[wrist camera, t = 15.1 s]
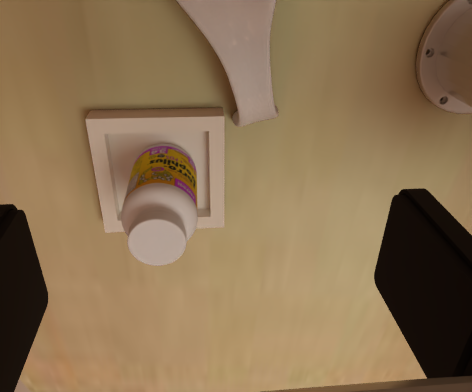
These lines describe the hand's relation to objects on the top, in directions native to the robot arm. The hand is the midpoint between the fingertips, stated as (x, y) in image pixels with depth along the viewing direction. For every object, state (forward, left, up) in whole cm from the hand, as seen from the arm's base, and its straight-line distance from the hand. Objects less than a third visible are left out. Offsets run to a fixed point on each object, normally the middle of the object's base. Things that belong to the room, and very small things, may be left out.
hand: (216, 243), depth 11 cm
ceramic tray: (+4, +14, -32) cm, 35 cm away
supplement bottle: (+4, +14, -32) cm, 35 cm away
